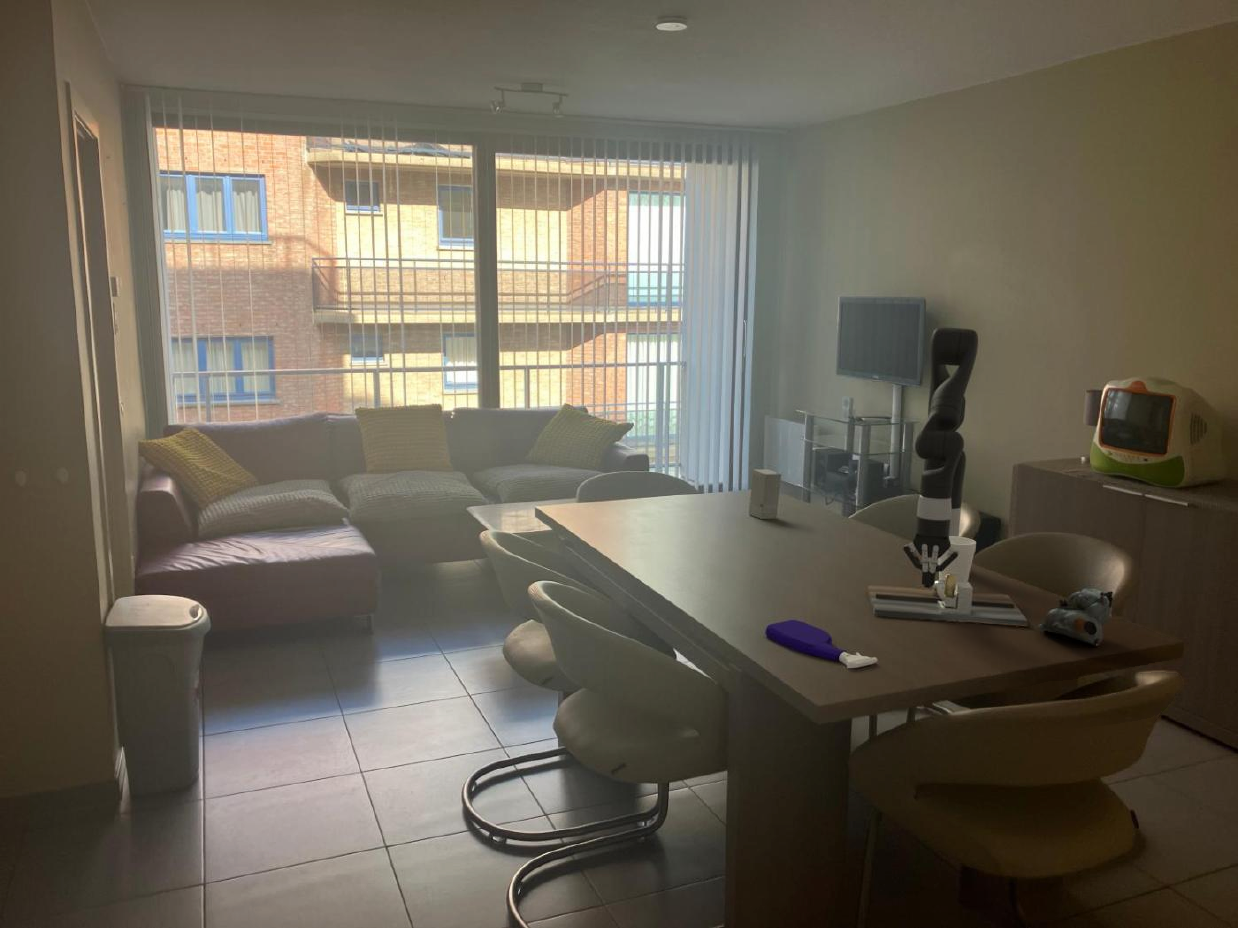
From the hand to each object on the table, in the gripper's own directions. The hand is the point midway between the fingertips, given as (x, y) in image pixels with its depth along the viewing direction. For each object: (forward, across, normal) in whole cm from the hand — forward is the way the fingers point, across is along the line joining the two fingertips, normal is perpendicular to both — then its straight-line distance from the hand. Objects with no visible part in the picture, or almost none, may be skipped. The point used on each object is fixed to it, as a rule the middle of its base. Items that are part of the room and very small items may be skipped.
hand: (928, 586), depth 235 cm
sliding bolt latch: (+6, +3, +6) cm, 10 cm away
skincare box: (+7, -65, +85) cm, 107 cm away
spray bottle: (+7, -17, -37) cm, 41 cm away
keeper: (+5, +6, +1) cm, 8 cm away
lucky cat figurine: (+7, +32, -2) cm, 33 cm away
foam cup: (+7, +3, +25) cm, 26 cm away
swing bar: (+3, +3, +6) cm, 8 cm away
